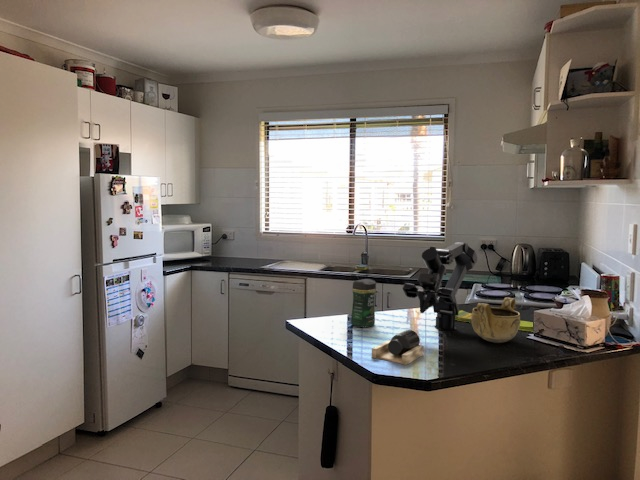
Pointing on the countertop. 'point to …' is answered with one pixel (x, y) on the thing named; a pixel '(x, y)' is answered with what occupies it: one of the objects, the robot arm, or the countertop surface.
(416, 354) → the cradle
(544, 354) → the countertop surface
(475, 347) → the countertop surface
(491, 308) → the ceramic bowl
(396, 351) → the supplement bottle
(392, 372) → the countertop surface
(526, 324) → the dish towel
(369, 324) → the coffee jar
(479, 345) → the countertop surface
